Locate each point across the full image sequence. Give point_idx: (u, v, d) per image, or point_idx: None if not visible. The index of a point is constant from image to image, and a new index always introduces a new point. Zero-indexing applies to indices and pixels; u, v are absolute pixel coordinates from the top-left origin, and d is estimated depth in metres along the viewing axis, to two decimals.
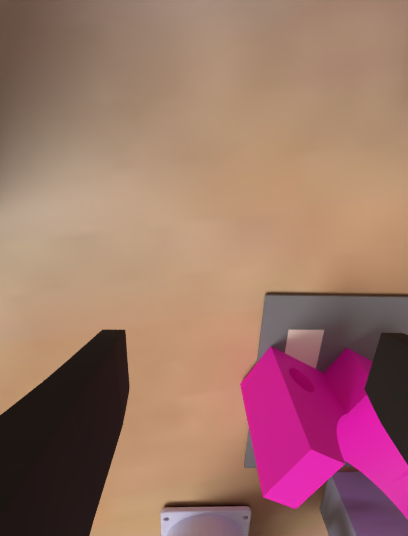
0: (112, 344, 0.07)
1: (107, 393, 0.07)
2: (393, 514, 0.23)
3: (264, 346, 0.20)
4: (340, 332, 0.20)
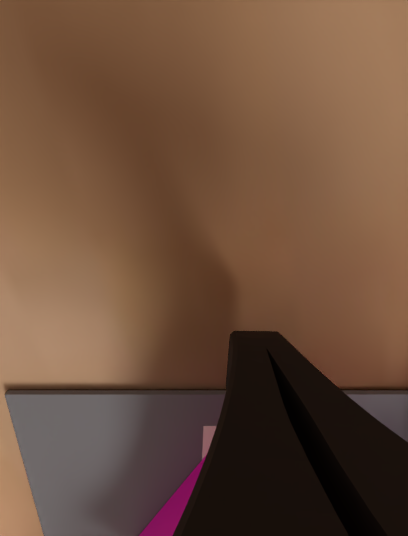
0: (262, 345, 0.07)
1: None
2: None
3: None
4: None
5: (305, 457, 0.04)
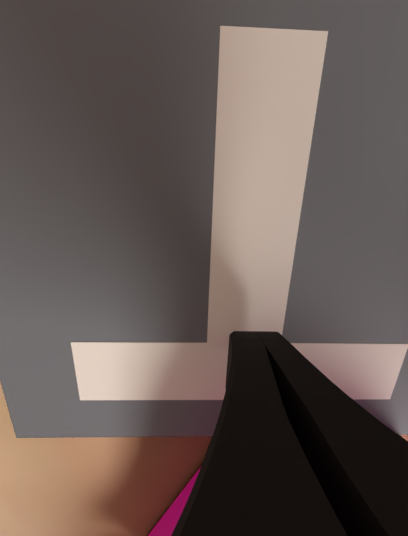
0: (262, 345, 0.07)
1: None
2: None
3: (122, 431, 0.11)
4: (72, 310, 0.09)
5: (304, 457, 0.04)
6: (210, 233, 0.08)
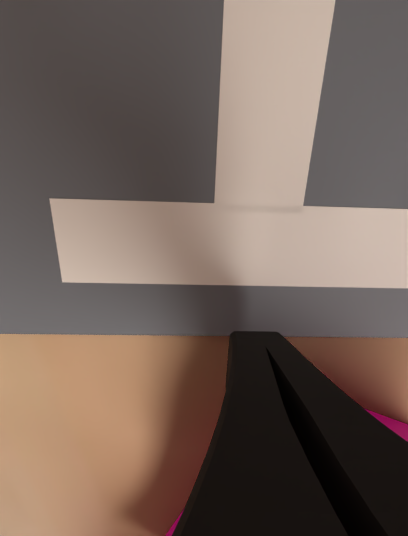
0: (262, 345, 0.07)
1: None
2: None
3: (113, 326, 0.09)
4: (50, 151, 0.07)
5: (305, 457, 0.04)
6: (220, 38, 0.07)
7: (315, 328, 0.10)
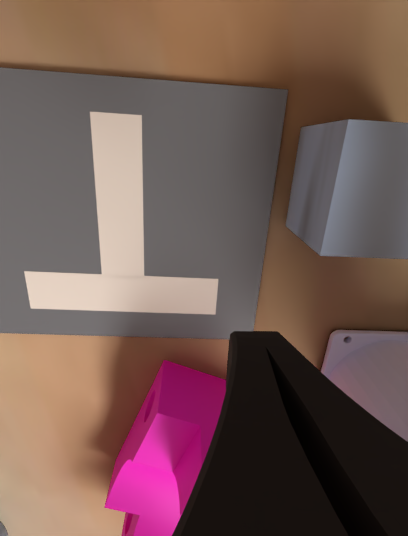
0: (262, 345, 0.07)
1: None
2: (321, 161, 0.12)
3: (57, 330, 0.18)
4: (24, 252, 0.17)
5: (305, 457, 0.04)
6: (96, 211, 0.16)
7: (161, 333, 0.19)
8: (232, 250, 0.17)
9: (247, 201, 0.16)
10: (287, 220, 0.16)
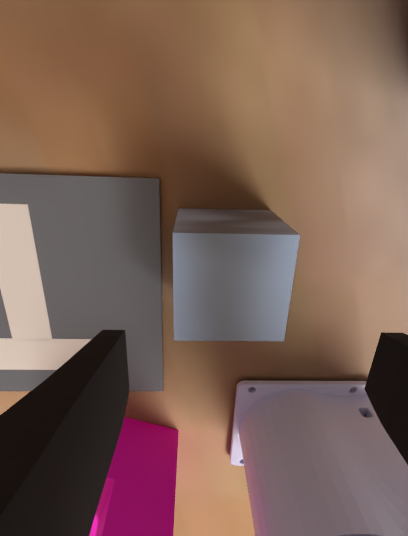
0: (112, 344, 0.07)
1: (107, 393, 0.07)
2: None
3: None
4: None
5: (35, 459, 0.04)
6: None
7: None
8: (130, 315, 0.18)
9: (137, 273, 0.17)
10: None
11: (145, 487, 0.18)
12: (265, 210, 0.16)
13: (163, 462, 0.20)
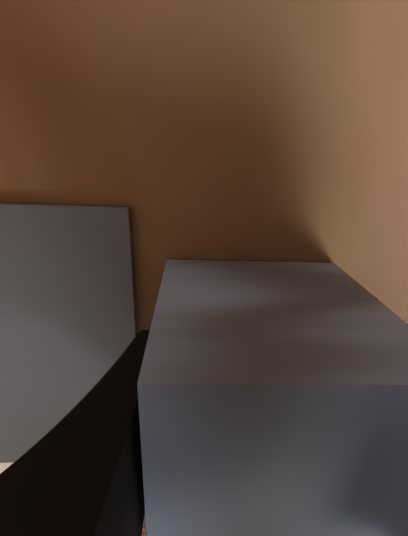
0: None
1: None
2: None
3: None
4: None
5: (116, 459, 0.04)
6: None
7: None
8: None
9: (97, 366, 0.10)
10: None
11: None
12: (326, 264, 0.09)
13: None
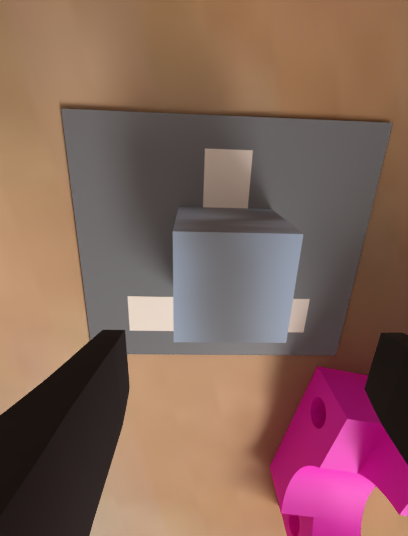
0: (112, 344, 0.07)
1: (107, 393, 0.07)
2: None
3: (152, 350, 0.19)
4: (129, 278, 0.17)
5: (35, 460, 0.04)
6: None
7: (250, 350, 0.20)
8: (325, 272, 0.18)
9: (344, 226, 0.17)
10: None
11: None
12: (267, 209, 0.16)
13: None
